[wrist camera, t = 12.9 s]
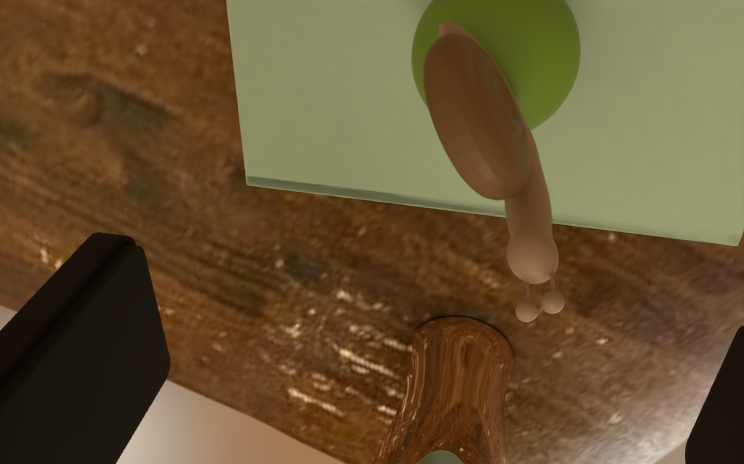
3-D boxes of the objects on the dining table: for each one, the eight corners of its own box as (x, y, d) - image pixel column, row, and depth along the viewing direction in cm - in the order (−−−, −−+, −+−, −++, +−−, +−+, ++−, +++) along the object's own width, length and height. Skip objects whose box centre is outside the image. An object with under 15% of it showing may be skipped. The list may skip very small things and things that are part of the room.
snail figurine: (481, 145, 26) (445, 354, 17) (396, 4, 24) (297, 152, 14) (613, 82, 24) (662, 285, 14) (534, -82, 21) (527, 27, 12)
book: (236, -211, 24) (202, -211, 21) (872, -201, 20) (917, -199, 18) (268, 155, 32) (246, 185, 30) (721, 207, 29) (737, 246, 26)
